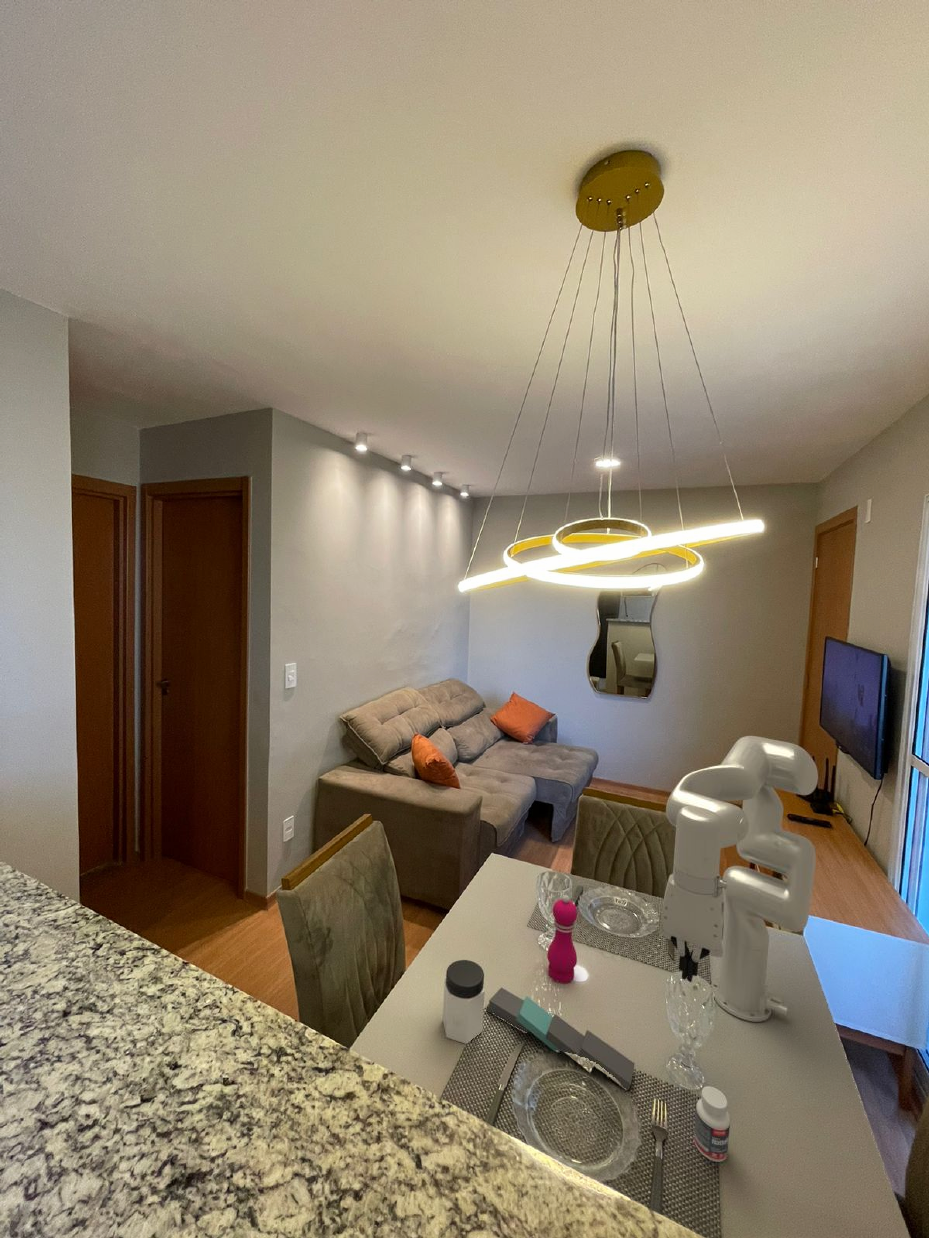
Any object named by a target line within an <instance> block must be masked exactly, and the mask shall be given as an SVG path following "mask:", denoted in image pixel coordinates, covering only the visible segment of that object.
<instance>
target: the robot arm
mask: <svg viewBox="0 0 929 1238" xmlns="http://www.w3.org/2000/svg"><path fill="white" fill-rule="evenodd" d="M818 780H819V772H818V768H817V765H816V763H815V761H814V759H813V758H812V757H811V755H810V754H809V752H807V751H806V750H805V749H804V748H803V747H801V746H799V745H797V744H795V743H792V742H787V741H782V740H776V739H771V738H767V737H762V736H756V735H745V736H742V737H740V738H739V739H737V741H736V742H735V743H734V744H733V746H732V747H731V749H730V750H729V751H728V753H727V755H726V756H725V757H724V758H723V759H722V762H721V763H720V764H718V765H712V766H709V767H706V768H702V769H698V770H696V771H695V770H694V771H691V772H690V773H688V774H686V775H685V776H684V777H682V778H681V779H680V781H678V783H677V784H676V786H675V787H674V788H673V790H672V791H671V793H670V795H669V797H668V800H667V801H666V802H667V803H666V807H665V814H666V817H667V820H668V822H669V823H670V824H671V825H672V826H673V827H674V828H675V836H674V837H675V842H674V851H673V852H674V854H673V867H672V869H673V870H672V873H671V874H669V876H668V880H667V883H666V887H665V892H664V897H663V902H662V911H661V916H660V917H661V918H660V929H659V930H658V931H659V934H660V935H661V936H662V937H664V938H665V939H667V940H670V942H671V943H672V945H673V946H674V947H675V948H676V950H677V954H678V956H679V962H678V970H679V971H681V979H682V980H687V981H688V982H689V983H692V982H693V977H698V971H699V961H700V960H702V959H704V958H706V957H709V956H711V957H716V958H720V963H719V964H720V967H719V977H718V978H716V979H715V980H713V981H712V983H711V986H712V989H713V990H714V994H715V999H714V1001H715V1002H716V1003H717V1004H718V1005H719V1006H720V1008H722V1009H723V1010H724V1011H726V1012H727V1013H729V1014H731V1015H732V1016H734V1017H736V1018H738V1019H742V1020H744V1021H748V1022H755V1023H756V1022H760V1023H761V1022H764V1021H767V1020H769V1018H770V1017H771V1015H772V1011H774V1012H776V1013H778V1014H780V1015H782V1016H785V1017H788V1016H787V1015H788V1006H787V1005H784V1004H782V998H781V997H779V996H774V995H772V994H770V992H769V991H767V990H768V985H767V984H766V983H767V982H766V981H767V971H768V957H769V946H770V945H769V944H770V934H769V931H768V928H767V925H766V922H769V923H771V924H773V925H776V926H778V927H780V928H784V929H785V930H788V931H791V932H796V933H797V932H802V931H803V930H804V929H805V928H806V927H807V924H808V922H809V921H808V920H809V917H810V910H811V903H812V895H813V887H814V879H815V873H816V864H817V863H816V861H817V860H816V859H817V857H816V849H815V846H814V844H813V843H812V841H811V840H810V839H808V838H807V837H804V836H802V835H800V834H798V833H794V832H791V831H787V830H784V829H783V828H782V822H783V815H784V805H783V802H782V800H781V799H780V796H779V794H778V793H777V792H776V790H781V791H785V792H788V793H792V794H795V795H801V796H807V795H810V794H812V793H813V792H814V791H815V790H816V788H817V785H818ZM775 789H776V790H775ZM726 801H728V802H726ZM732 801H733V802H734V801H735V802H736V801H738V802H739V801H742V806H741V807H742V808H741V807H739V806H737V805H735V804H733V803H730V802H732ZM732 846H736V851H737V854H738V855H739V857H741V858H742V859H744V860H745V861H747V862H750V863H752V864H754V865H757V866H759V867H762V868H764V869H768V870H770V871H774V872H775V873H779V874H782V875H783V876H785V877H786V878H787V881H784V880H782V879H779V878H777V877H774V876H771V875H770V874H766V873H763V872H761V871H758V870H755V869H753V868H749V867H746V866H741V865H731V866H729V867H728V868H726V869H725V871H724V872H723V875H722V876H721V875H720V864H721V849H723V848H730V847H732ZM765 921H766V922H765ZM688 943H690V944H691V945H694V947H693V949H692V950H691V951H690V949H689V947H688Z"/></svg>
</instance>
